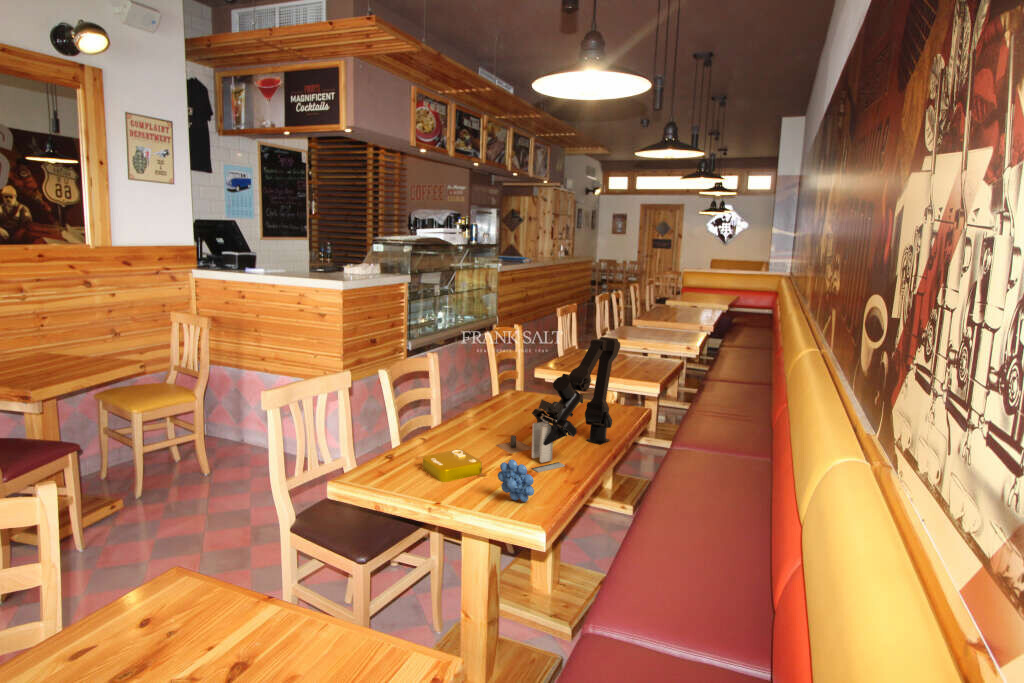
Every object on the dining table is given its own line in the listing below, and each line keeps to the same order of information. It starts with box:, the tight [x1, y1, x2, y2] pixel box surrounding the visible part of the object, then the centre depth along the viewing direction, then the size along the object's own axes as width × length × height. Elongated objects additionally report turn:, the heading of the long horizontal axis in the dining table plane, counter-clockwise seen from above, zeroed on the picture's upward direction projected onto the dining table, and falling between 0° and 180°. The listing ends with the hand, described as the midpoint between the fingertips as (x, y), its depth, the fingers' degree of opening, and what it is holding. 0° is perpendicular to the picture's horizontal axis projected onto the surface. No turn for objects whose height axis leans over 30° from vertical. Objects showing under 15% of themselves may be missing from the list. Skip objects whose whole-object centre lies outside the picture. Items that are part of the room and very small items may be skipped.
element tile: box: [422, 449, 483, 483], centre depth 196 cm, size 15×15×5 cm
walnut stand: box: [495, 435, 532, 454], centre depth 218 cm, size 10×10×5 cm
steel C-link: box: [531, 421, 554, 464], centre depth 203 cm, size 4×6×12 cm
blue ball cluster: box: [497, 459, 535, 503], centre depth 173 cm, size 12×7×12 cm, turn 62°
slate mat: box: [530, 461, 565, 473], centre depth 204 cm, size 11×11×1 cm
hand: (539, 442), depth 202 cm, fingers closed on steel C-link, 6 cm apart
